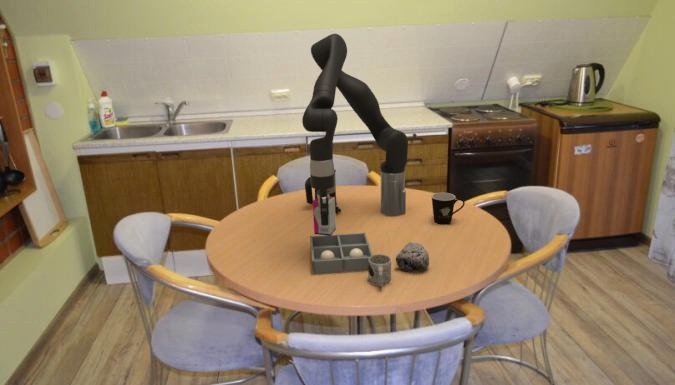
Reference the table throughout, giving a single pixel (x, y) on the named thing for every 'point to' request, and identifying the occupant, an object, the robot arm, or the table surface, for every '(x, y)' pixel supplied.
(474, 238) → the table surface
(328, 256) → the egg front right
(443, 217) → the coffee mug
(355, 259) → the grey divided tray
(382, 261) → the mug
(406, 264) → the pumice stone
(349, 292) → the table surface
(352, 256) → the egg front left
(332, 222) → the supplement box
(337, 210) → the milk frother
